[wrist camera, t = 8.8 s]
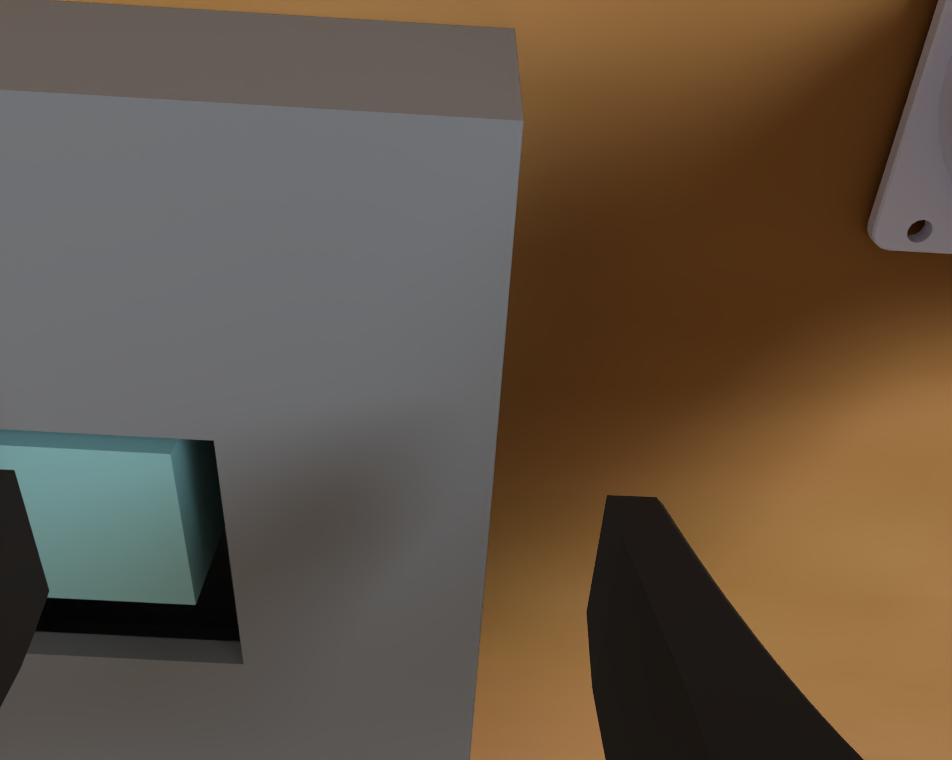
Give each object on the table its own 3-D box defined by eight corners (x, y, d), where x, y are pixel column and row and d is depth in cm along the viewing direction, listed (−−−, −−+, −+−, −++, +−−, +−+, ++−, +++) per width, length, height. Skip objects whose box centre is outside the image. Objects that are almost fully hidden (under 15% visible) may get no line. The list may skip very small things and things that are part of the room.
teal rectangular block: (235, 321, 21) (170, 454, 16) (250, 457, 23) (195, 604, 19) (62, 311, 21) (-48, 442, 16) (93, 448, 23) (3, 595, 19)
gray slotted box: (514, 28, 18) (523, 121, 13) (468, 642, 27) (463, 831, 22) (-305, -22, 17) (-630, 52, 12) (-55, 616, 27) (-179, 801, 22)
